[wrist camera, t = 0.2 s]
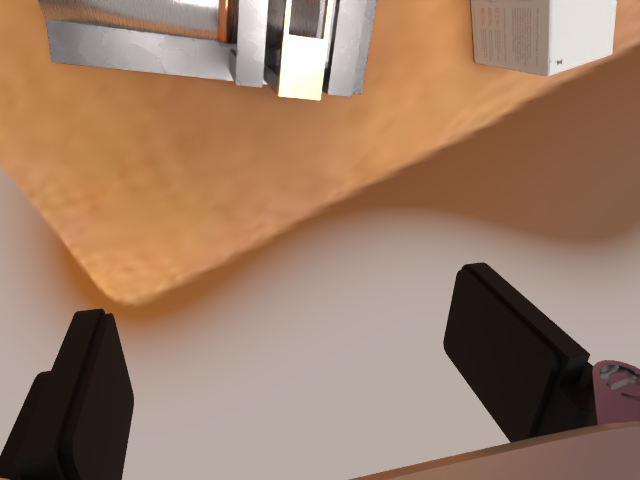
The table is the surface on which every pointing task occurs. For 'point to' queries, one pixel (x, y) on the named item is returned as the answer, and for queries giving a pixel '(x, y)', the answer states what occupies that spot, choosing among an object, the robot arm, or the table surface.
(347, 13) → the rail
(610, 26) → the small box
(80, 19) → the tube
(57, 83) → the table surface
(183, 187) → the table surface
